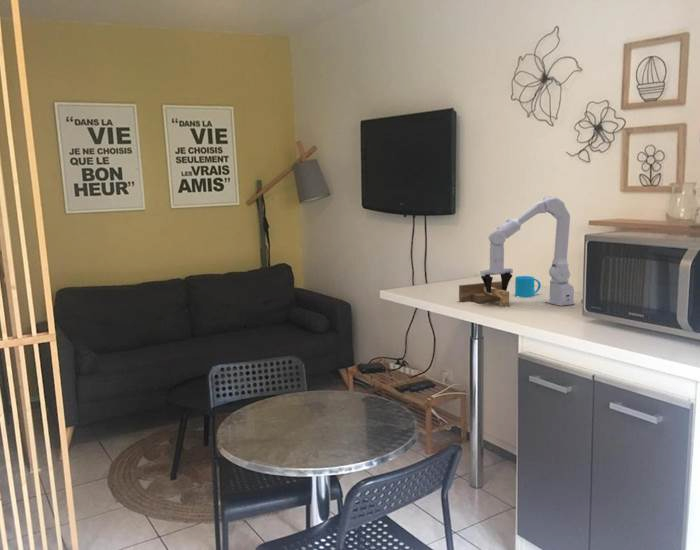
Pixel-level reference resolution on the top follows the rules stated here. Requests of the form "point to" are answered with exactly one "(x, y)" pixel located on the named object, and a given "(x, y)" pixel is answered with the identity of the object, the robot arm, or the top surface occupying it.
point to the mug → (525, 286)
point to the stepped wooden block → (478, 292)
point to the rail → (499, 295)
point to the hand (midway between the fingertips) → (496, 291)
